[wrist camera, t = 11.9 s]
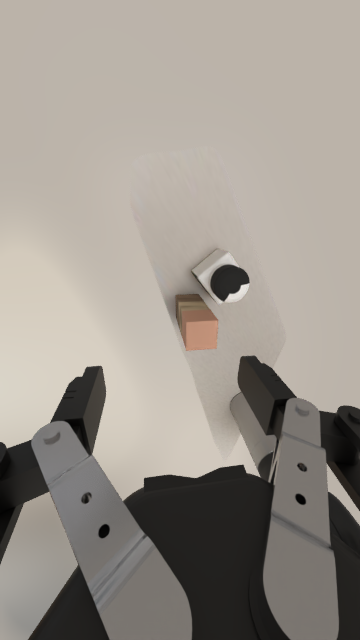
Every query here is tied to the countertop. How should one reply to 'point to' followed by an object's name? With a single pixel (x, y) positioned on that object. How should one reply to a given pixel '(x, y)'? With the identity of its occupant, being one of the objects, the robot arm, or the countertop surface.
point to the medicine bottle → (222, 277)
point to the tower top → (188, 307)
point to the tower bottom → (186, 299)
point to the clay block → (199, 329)
